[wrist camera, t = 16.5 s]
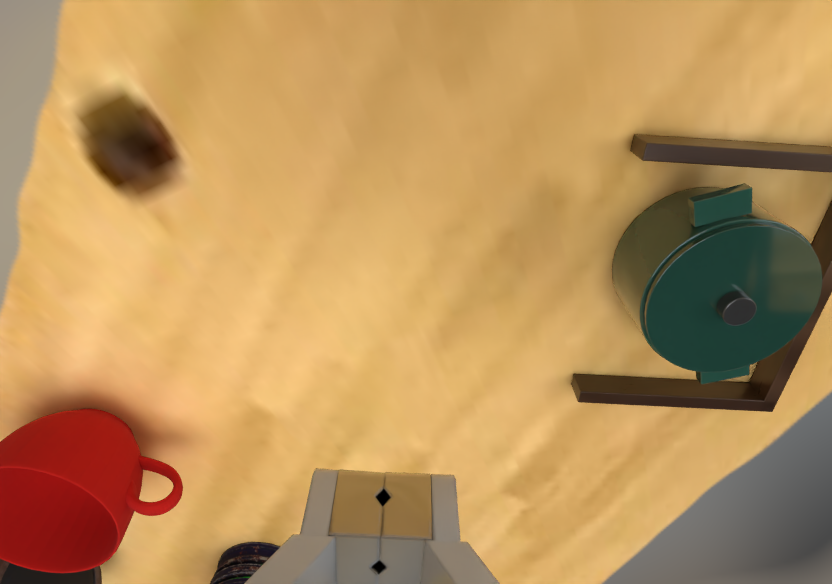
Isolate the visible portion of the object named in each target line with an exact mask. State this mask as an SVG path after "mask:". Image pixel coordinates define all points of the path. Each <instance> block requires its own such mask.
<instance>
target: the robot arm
mask: <svg viewBox="0 0 832 584" xmlns="http://www.w3.org/2000/svg"><path fill="white" fill-rule="evenodd" d="M244 584H499V582H498V581H497V580H496V578H495V577H494V576H493V574H492V573H491V572H490V571H489V569H488V568H487V567H486V565H485V564H484V563H483V562H482V560H481V559H480V558H479V556H478V555H477V554H476V552H475V551H474V550H473V549H472V547H471V546H470V545H469V543H468V542H460V529H459V517H458V504H457V492H456V479H455V477H454V475H439V474H431V475H430V474H419V473H390V472H385V473H379V472H365V471H351V470H333V469H318V468H316V469H315V471H314V473H313V476H312V480H311V485H310V490H309V494H308V499H307V504H306V508H305V513H304V518H303V522H302V527H301V532H300V535H298V534H293V535H292V536H291V537H290V538H289V539H288V540H287V541H286V542H285V543H284V544H283V545H282V546H281V547H280V548H279V549H278V550H277V551H276V552H275V553H274V554H273V555H272V556H271V557H270V558H269V559H268V560H267V561H266V562H265V563H264V564H263V565H262V566H261V567H260V568H259V569H258V570H257V571H256V572H255V573H254V574H253V575H252V576H251V577H250V578H249V579H248V580H247V581H246V582H245V583H244Z"/></svg>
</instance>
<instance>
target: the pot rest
mask: <svg viewBox="0 0 832 584" xmlns="http://www.w3.org/2000/svg"><path fill="white" fill-rule="evenodd" d="M631 152H633V153H634V154H635V155H636V156H638V157H639V158H640V159H641V160H643V161H658V162H674V163H690V164H706V165H722V166H738V167H754V168H770V169H786V170H803V171H819V172H832V147H826V146H810V145H795V144H779V143H763V142H748V141H732V140H716V139H701V138H685V137H669V136H653V135H638V134H635V135H634V138H633V142H632V146H631ZM812 248H813V249H814V251H815V253H816V255H817V257H818V259H819V262H820V265H821V270H822V289H821V295H820V298H819V301H818V304H817V306H816V308H815V310H814V312H813V314H812V316H811V317H810V319H809V320H808V322H807V323H806V324H805V326H804V327H803V328H802V330H801V331H800V332H799V333H798V334H797V335H796V336H795V337H794V338H793V339H792V340H791V341H789V342H788V343H787V344H786V345H785V346H784V347H782V348H781V349H779V350H778V351H776V352H775V353H773V354H772V355H770V356H768V357H766V358H765V359H762V360H760V361H759V363H758V365H757V367H756V369H755V371H754V374H753V376H752V378H751V380H750V382H749V383H741V382H722V381H717V382H712V383H707V384H700V382H699V381H698V380H682V379H663V378H643V377H623V376H604V375H584V374H574V375H573V379H572V383H571V385H572V387H573V390H574V393H575V395H576V398H577V401H578V402H585V403H605V404H625V405H645V406H666V407H686V408H706V409H726V410H747V411H767V412H772V411H773V409H774V407H775V405H776V403H777V401H778V399H779V397H780V395H781V393H782V391H783V389H784V387H785V385H786V383H787V381H788V379H789V377H790V375H791V373H792V371H793V369H794V367H795V365H796V363H797V361H798V359H799V357H800V355H801V353H802V351H803V349H804V347H805V345H806V343H807V341H808V339H809V337H810V335H811V333H812V331H813V329H814V327H815V325H816V323H817V321H818V319H819V317H820V315H821V312H822V310H823V308H824V306H825V304H826V302H827V300H828V298H829V296H830V294H831V292H832V202H831V204H830V206H829V208H828V210H827V213H826V215H825V217H824V219H823V221H822V224H821V226H820V228H819V230H818V232H817V235H816V237H815V239H814V241H813V243H812Z"/></svg>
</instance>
